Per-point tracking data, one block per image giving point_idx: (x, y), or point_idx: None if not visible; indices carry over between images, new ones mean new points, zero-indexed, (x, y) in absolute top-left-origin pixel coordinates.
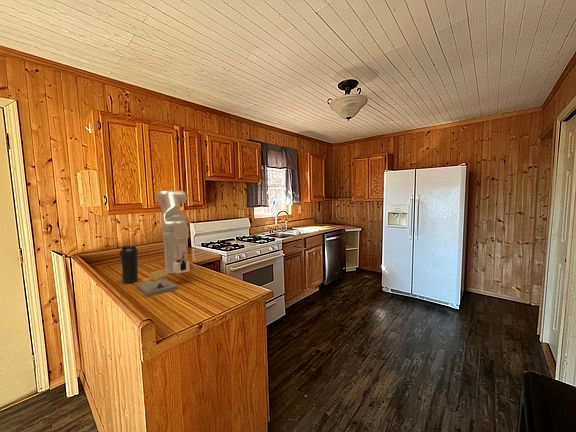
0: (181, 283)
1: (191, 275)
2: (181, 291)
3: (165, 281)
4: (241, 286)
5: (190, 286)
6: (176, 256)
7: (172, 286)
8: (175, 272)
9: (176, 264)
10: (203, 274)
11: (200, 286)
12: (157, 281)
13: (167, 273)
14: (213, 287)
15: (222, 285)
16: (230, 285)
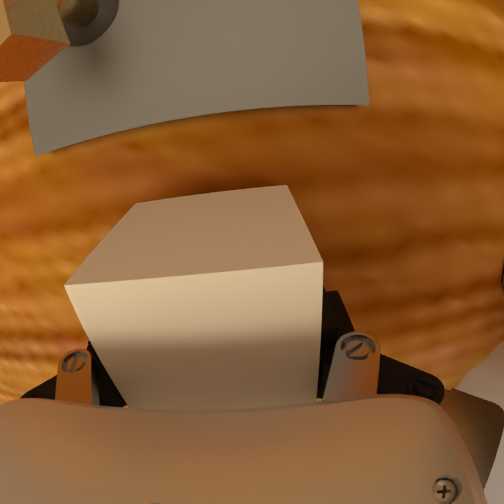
0: None
1: (369, 330)
2: (5, 169)
3: (250, 70)
4: (20, 396)
5: (72, 247)
6: (133, 484)
7: (40, 115)
8: (181, 198)
9: (72, 279)
10: None
11: (51, 295)
12: (313, 8)
13: (8, 75)
14: (22, 333)
15: (41, 370)
16: (36, 385)
